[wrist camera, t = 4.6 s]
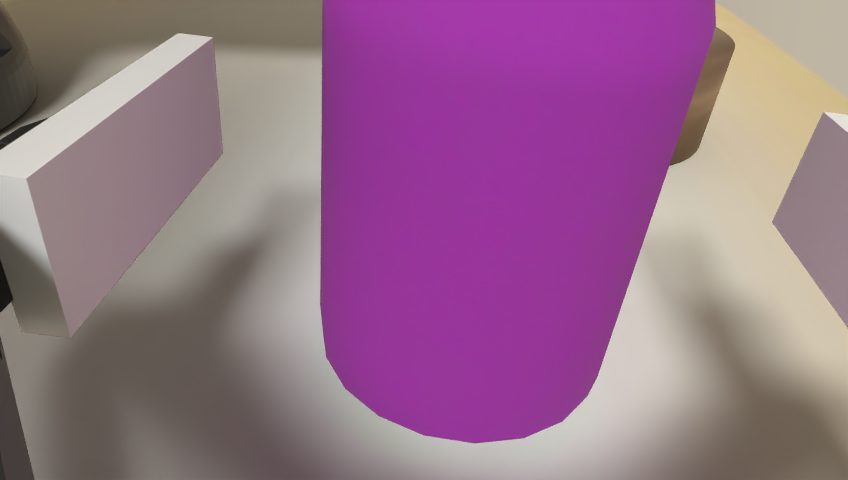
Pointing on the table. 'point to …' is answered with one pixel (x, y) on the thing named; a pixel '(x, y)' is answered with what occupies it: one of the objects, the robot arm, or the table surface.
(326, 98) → the beverage can
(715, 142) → the table surface
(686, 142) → the walnut pedestal
